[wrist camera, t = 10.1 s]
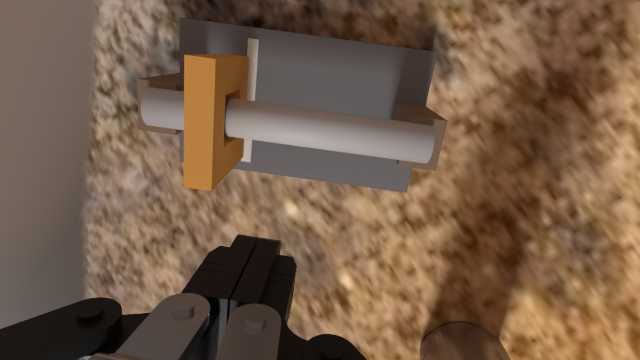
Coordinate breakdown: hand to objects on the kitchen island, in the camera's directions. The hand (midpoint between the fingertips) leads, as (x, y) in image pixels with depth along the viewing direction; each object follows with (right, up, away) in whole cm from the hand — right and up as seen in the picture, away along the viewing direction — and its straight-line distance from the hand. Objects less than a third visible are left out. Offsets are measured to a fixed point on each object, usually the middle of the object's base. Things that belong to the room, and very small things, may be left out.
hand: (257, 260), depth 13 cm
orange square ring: (-5, +9, +20) cm, 23 cm away
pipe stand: (0, +10, +26) cm, 28 cm away
